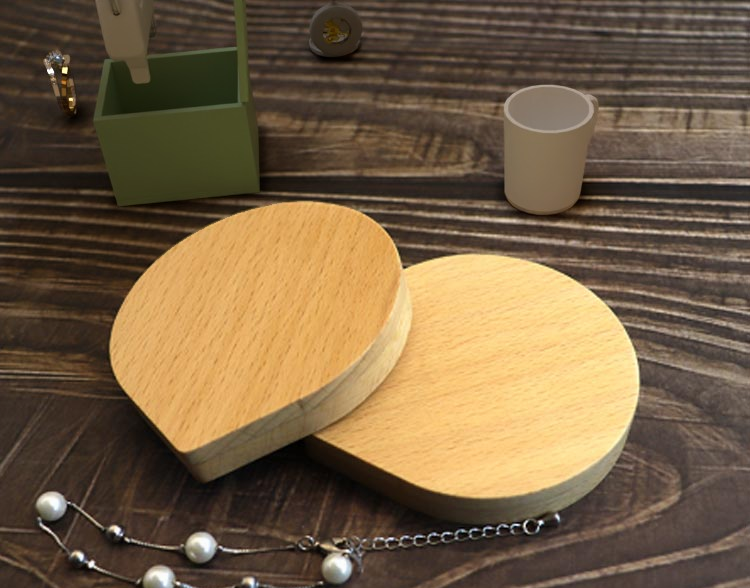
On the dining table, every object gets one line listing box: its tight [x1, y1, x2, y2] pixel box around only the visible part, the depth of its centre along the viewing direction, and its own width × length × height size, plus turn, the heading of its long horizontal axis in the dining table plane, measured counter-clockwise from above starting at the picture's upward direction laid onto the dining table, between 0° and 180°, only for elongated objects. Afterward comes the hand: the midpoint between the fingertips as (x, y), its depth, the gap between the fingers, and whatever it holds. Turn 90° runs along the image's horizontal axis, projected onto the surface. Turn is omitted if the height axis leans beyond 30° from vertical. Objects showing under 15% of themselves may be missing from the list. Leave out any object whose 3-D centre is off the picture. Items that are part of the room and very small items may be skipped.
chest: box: [92, 46, 261, 207], centre depth 112 cm, size 16×13×11 cm
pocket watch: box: [308, 0, 363, 58], centre depth 129 cm, size 8×8×10 cm
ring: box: [43, 48, 78, 118], centre depth 122 cm, size 7×3×8 cm, turn 2°
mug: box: [503, 84, 600, 216], centre depth 105 cm, size 11×9×10 cm
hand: (145, 56), depth 106 cm, fingers open, 8 cm apart
